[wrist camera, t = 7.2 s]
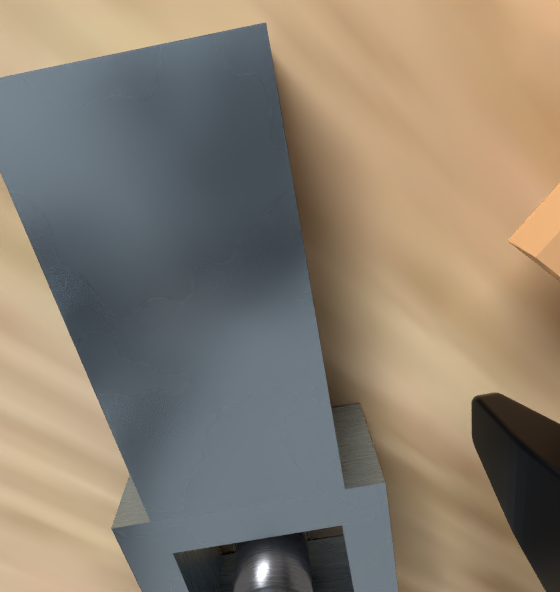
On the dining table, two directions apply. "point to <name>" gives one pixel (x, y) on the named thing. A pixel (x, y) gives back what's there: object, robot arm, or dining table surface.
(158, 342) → the link
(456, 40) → the dining table surface
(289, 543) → the cylinder
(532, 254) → the keeper
